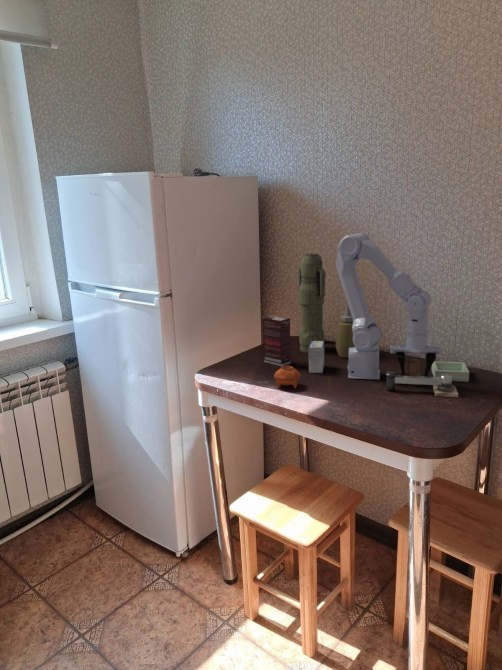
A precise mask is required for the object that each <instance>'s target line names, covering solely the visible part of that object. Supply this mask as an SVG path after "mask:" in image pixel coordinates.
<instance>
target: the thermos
mask: <svg viewBox="0 0 502 670" xmlns="http://www.w3.org/2000/svg"><path fill="white" fill-rule="evenodd" d="M324 269H325V268H323V260H322V256H321V255H320V254H319V253H305V254H303V255H302V258H301V261H300V267H299V269H298V295H299V299H298V300H299V301H298V303H299V305H300V330H299V334H298V335H299V337H298V339H299V341H298V342H299V351H300V352H301V353H306V354H309V347H310V344H311V341H324V342H325V331H324V329H323V327H324V326H323V322H324V321H323V319H324V318H323V316H324V313H323V309H324V308H323V307H324V306H323V305H324V303H325V296H326V272H325V270H324Z"/></svg>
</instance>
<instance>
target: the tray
mask: <svg viewBox="0 0 502 670" xmlns="http://www.w3.org/2000/svg"><path fill="white" fill-rule="evenodd" d="M431 373H432V375H433V376H432V377H441V374H450V375H452V382H463V383H466V382H467V383H469V381H470V371H469V369H468V367H467V365H466V363H465V362H461V361H457V362H456V361H436V360H435V361H434V363H433V364H432V366H431Z"/></svg>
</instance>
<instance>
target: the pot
mask: <svg viewBox="0 0 502 670" xmlns="http://www.w3.org/2000/svg"><path fill="white" fill-rule="evenodd" d="M273 378H274V380H275V382H276V386H277V388H278V389H279V388H280V386H281V385H283V386H293V388H294V390H296V389H297V387H298V381H299V380H300V379H301V373H300V372H299V370H297V369H296V368H294V367H293V366H291V365H286V366H280V368H279V369H278V370H277V371H275V373H274V375H273Z"/></svg>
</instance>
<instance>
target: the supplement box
mask: <svg viewBox="0 0 502 670" xmlns="http://www.w3.org/2000/svg"><path fill="white" fill-rule="evenodd" d="M262 338H263V339H262V340H263V345H262V346H263V362H264V363H267V364H269V365H273V366H274V365H275V366H278V367H283V366H289V365H290V364H291V358H292V357H291V318H289V317H283V316H277V315H267V316H263V317H262Z"/></svg>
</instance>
